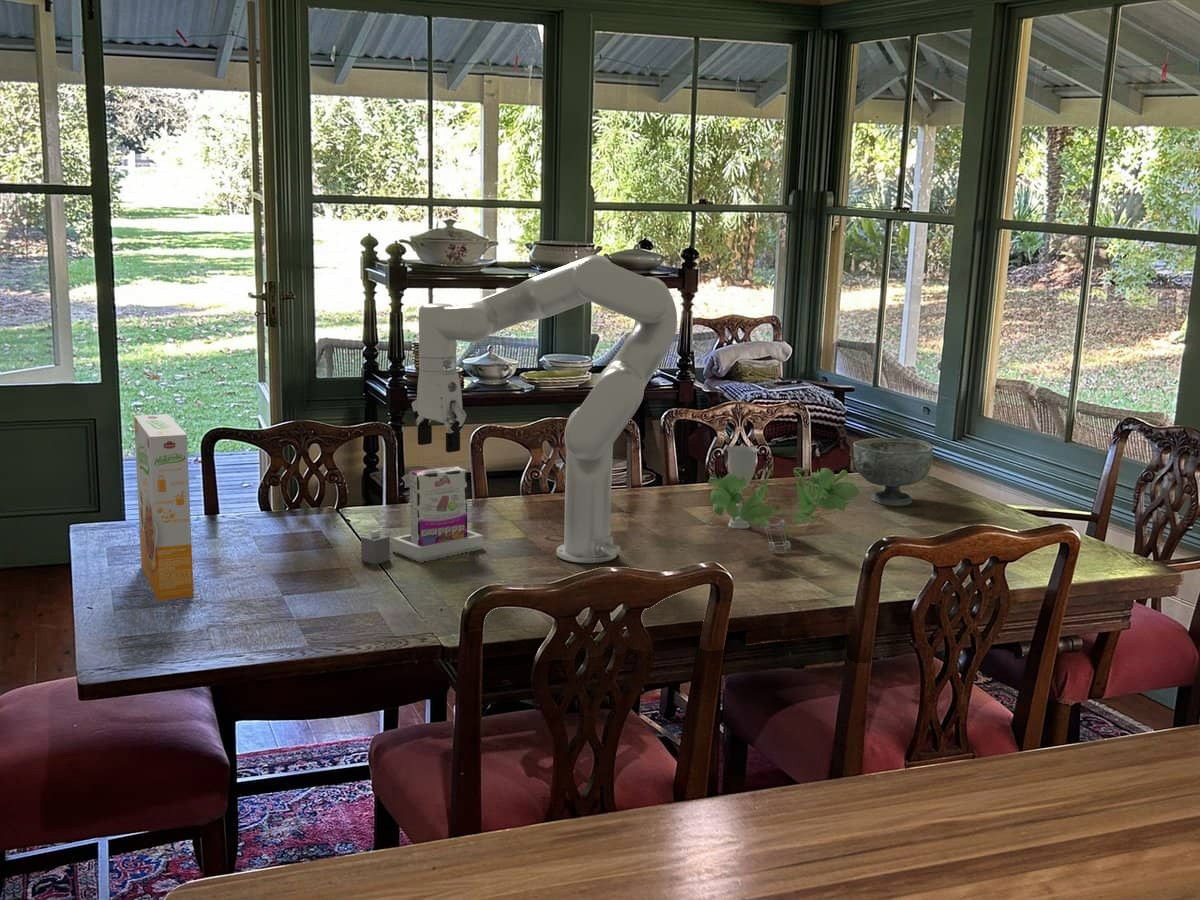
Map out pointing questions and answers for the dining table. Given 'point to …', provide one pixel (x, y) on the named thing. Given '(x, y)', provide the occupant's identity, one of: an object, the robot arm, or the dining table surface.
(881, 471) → the bowl
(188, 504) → the cereal box
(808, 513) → the plant cuttings
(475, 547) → the tray
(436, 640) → the dining table surface
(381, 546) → the brick
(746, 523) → the chalice
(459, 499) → the candy bar box
